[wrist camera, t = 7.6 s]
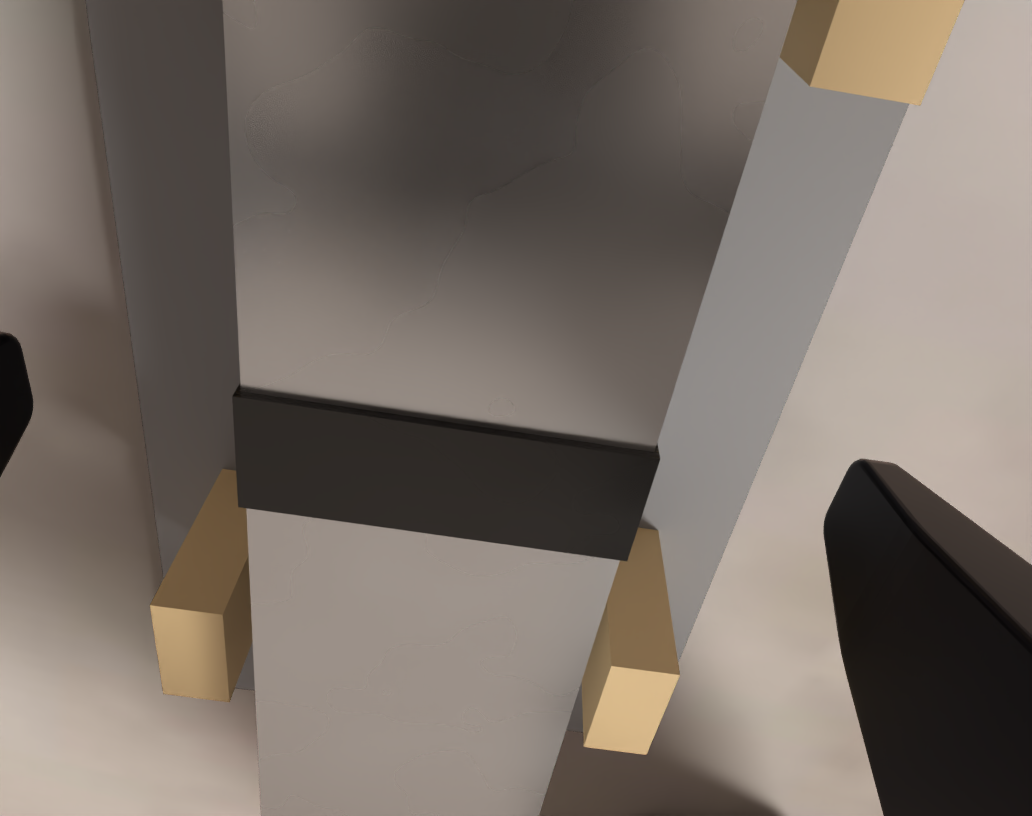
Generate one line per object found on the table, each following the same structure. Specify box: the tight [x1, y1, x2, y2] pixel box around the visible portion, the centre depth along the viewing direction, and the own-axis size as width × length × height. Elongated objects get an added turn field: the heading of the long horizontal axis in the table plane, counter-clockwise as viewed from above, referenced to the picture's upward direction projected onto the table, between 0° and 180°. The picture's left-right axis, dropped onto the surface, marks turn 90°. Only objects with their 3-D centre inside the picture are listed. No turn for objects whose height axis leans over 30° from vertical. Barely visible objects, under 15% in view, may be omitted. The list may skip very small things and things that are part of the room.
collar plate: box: [85, 0, 964, 755], centre depth 11 cm, size 20×10×4 cm, turn 171°
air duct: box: [222, 0, 797, 816], centre depth 10 cm, size 14×4×4 cm, turn 171°
